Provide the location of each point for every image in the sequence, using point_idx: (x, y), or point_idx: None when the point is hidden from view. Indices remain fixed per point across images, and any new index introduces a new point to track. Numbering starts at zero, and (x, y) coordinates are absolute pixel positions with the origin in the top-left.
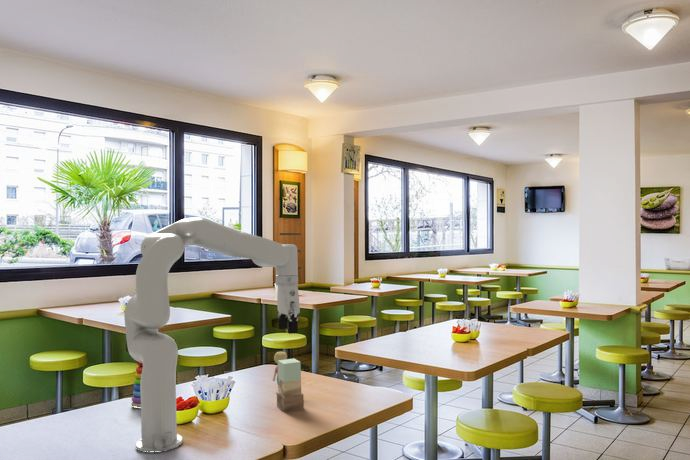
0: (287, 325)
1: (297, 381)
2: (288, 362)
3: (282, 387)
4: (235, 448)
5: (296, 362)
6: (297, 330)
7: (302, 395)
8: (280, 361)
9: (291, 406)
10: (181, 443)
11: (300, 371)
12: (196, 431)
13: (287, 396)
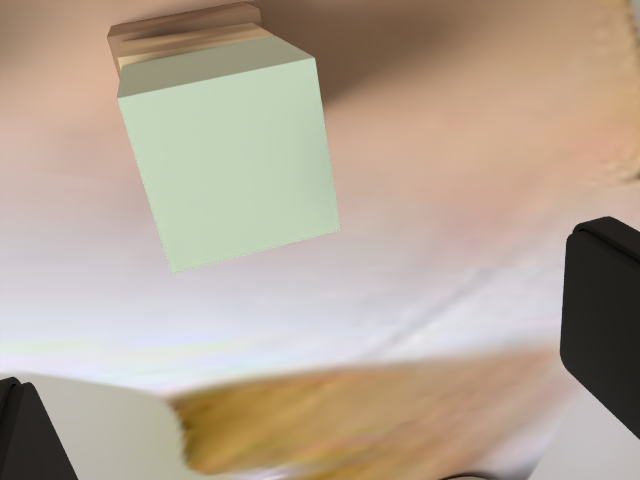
0: (19, 422)
1: None
2: (297, 182)
3: None
4: None
5: (320, 103)
6: (631, 233)
7: (260, 15)
8: (224, 251)
9: None
10: (474, 477)
11: (290, 46)
12: (371, 458)
13: None
